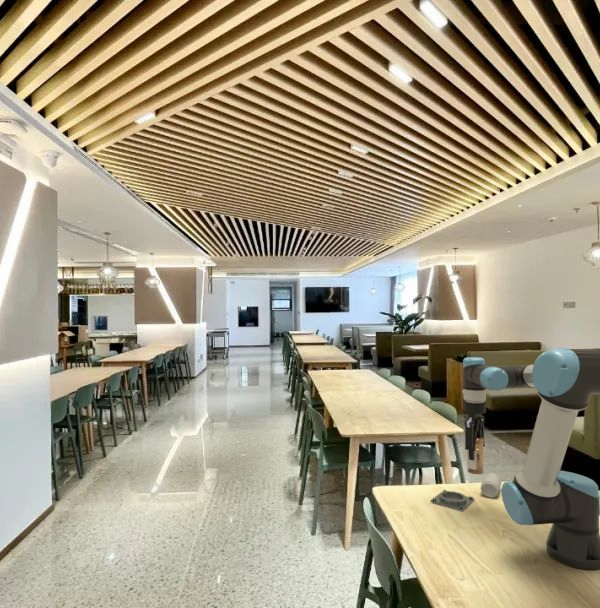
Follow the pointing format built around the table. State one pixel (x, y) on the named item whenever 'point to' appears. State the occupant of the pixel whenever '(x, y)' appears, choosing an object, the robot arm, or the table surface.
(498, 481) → the beverage can
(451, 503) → the flange
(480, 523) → the table surface
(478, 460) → the copper cylinder
